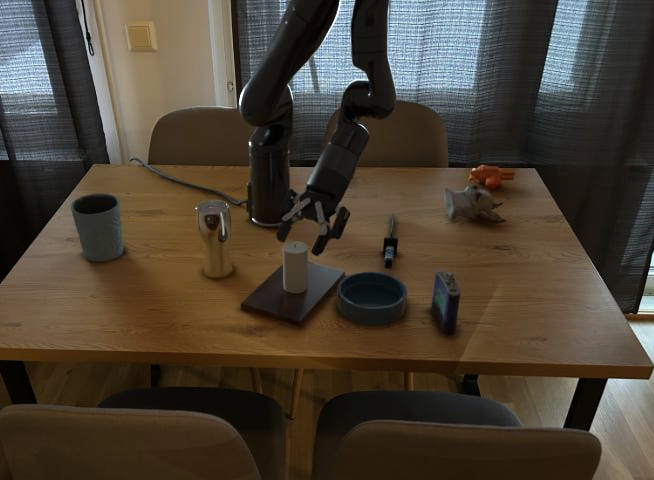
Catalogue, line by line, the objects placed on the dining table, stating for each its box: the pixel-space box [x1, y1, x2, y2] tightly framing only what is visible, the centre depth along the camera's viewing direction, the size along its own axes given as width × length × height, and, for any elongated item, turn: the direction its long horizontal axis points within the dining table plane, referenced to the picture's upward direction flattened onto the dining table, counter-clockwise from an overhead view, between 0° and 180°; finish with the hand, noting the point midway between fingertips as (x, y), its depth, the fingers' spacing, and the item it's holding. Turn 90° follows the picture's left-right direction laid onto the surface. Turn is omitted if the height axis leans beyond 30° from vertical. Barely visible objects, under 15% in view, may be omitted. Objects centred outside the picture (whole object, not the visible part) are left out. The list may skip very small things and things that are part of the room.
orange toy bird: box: [467, 164, 516, 190], centre depth 170 cm, size 5×8×12 cm
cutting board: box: [240, 261, 346, 327], centre depth 129 cm, size 13×20×2 cm, turn 152°
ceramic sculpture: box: [443, 184, 507, 225], centre depth 154 cm, size 11×9×15 cm
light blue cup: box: [70, 193, 124, 262], centre depth 140 cm, size 10×10×12 cm
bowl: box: [336, 271, 408, 326], centre depth 124 cm, size 13×13×4 cm
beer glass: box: [195, 199, 234, 279], centre depth 132 cm, size 7×7×15 cm
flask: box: [430, 269, 461, 336], centre depth 117 cm, size 9×3×11 cm, turn 8°
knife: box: [382, 213, 399, 270], centre depth 143 cm, size 31×3×4 cm, turn 167°
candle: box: [282, 241, 309, 293], centre depth 125 cm, size 5×5×10 cm
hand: (296, 247), depth 124 cm, fingers open, 8 cm apart
